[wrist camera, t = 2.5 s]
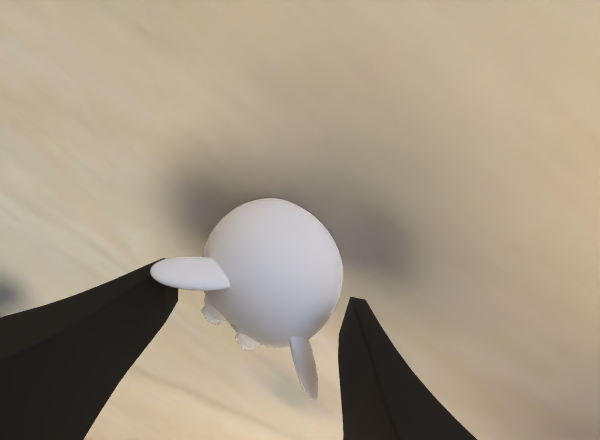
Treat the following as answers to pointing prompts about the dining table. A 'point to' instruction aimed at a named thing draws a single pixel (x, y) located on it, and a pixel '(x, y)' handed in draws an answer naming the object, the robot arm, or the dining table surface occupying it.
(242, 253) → the figurine
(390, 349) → the robot arm
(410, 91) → the dining table surface
